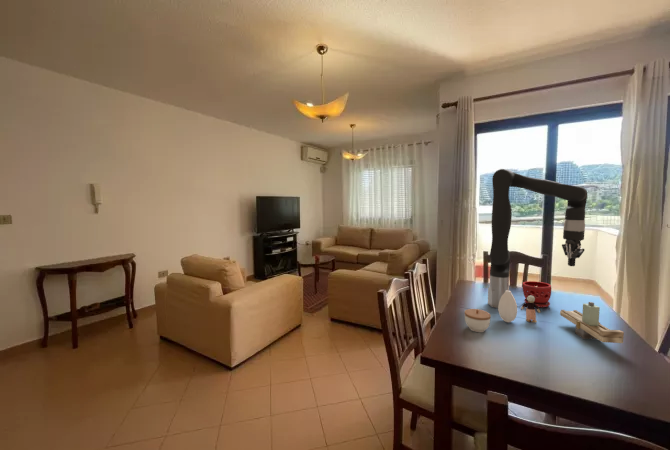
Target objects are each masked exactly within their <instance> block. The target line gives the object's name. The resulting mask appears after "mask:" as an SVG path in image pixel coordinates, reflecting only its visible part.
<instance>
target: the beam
mask: <svg viewBox="0 0 670 450" xmlns="http://www.w3.org/2000/svg"><path fill="white" fill-rule="evenodd" d="M582 314H583V312H580V311H578V310H577V309H573V311H572V310H565V309H560V313H559V315H560V316H561V317H563V318H564V319H566V320H567V321H569V322H570V323H572V324H573V325H574V326H575V330H574V331H575V334H576V335H577V336H578V337H580V338H581V339H583V340H598V341H600V342H601V343H614V344H624V338H625V336H624V334H625V332H624V331H622V330H620V329H609V327H606V326H605V325H603V324H601V322H599V326H590V325H588V324H586V323H585V322H583V321H582Z"/></svg>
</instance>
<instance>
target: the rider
mask: <svg viewBox="0 0 670 450" xmlns="http://www.w3.org/2000/svg"><path fill="white" fill-rule="evenodd" d="M600 308H601V307H600V306H598V305H596V304H595V302H594V301H588V302H587V303H582V321H583V322H585V323H586V324H588V325H590V326H599V321H600Z"/></svg>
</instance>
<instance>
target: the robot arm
mask: <svg viewBox="0 0 670 450" xmlns="http://www.w3.org/2000/svg"><path fill="white" fill-rule="evenodd" d="M491 179H492V191H493V195H492V197H493V198H492V207H491V208H492V209H491V236H492V237H491V246H490V251H489V258H490V268H489V286H488V288H487V304H488V305H489V306H490V307H491V308H495V309H498V306H499V301H500V299H501V297H502V295H503V294H504V293H505V291H506V290H508V286H509V287H510V271H511V270H510V269H511V267H510V265H511V252H510V250H509V245H508V243H509V242H508V241H509V236H510V233H511V232H510V231H511V227H512V217H513V216H512V215H513V214H512V213H513V212H512V206H511V205H512V204H511V202H510V197H509V196H510V195H509V194H510V188H511V187H512V188H513V187H514V188H520V189H523V190H527V191H531V192H534V193H538V194H541V195H543V196H548V197H555V198H559V199H562V200H565V201H567V207H566V209H565V213H564V214H565V215H564V222H563V232H562V233H563V234H562V238H563V240H565V243H564V244H563V243H562V244H561V248H562V250H563V253H564V256H566V257H567V265H568V266H569V267H575V266H576V260H577V259H580V257H582V254H583V253H584V252H585V248H582V244H581V242H582V241H584V240H585V233H586V232H585V231H586V224H585V223H586V222H585V221H586V220H585V219H586V206H587V202H588V201H587V200H588V191H587V189H586V188H585V187H583V186H576V185H571V184H566V183H561V182H558V181H553V180H548V179H543V178H536V177H530V176H525V175H522V174H520V173H516V172H514V171H512V170H510V169H506V168H500V169H498V170H496V171H495V172H494V173H493V175H492V178H491Z"/></svg>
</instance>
